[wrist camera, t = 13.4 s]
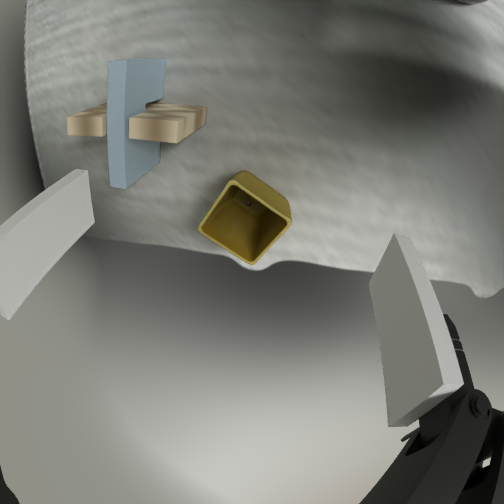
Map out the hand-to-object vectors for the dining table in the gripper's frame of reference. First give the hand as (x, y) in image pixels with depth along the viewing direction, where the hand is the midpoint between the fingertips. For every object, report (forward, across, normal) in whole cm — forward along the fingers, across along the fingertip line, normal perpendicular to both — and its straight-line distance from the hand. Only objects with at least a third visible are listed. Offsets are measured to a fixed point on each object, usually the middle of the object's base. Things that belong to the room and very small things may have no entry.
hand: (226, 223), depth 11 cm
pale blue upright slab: (+29, -18, -2) cm, 34 cm away
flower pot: (+29, -1, -13) cm, 32 cm away
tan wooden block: (+29, -18, -2) cm, 34 cm away
